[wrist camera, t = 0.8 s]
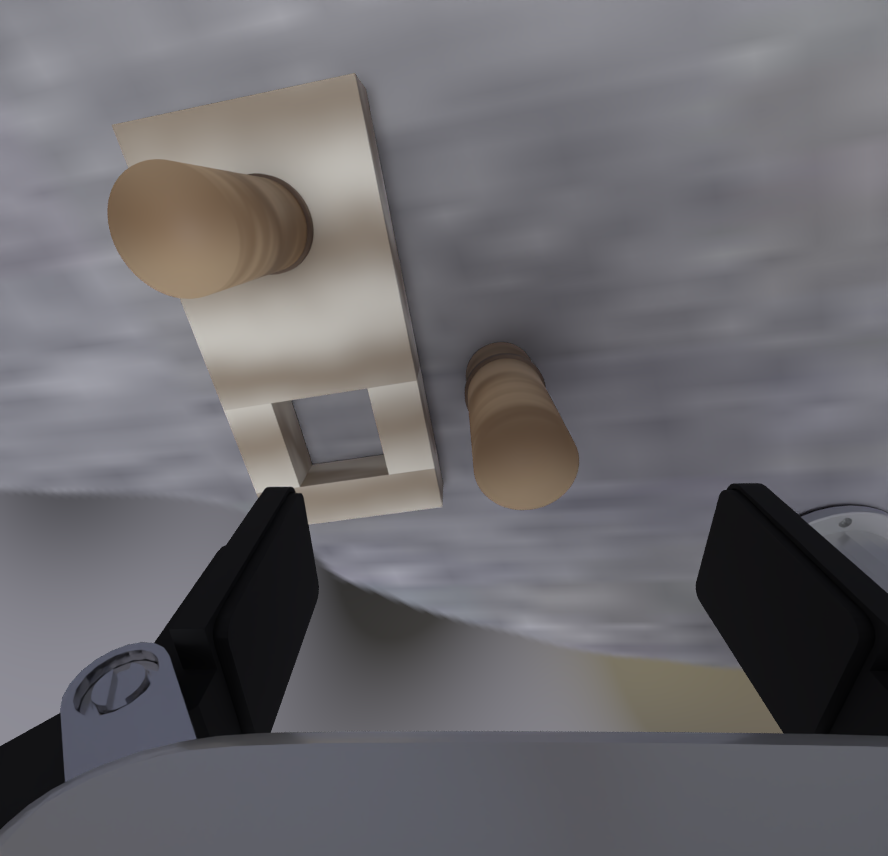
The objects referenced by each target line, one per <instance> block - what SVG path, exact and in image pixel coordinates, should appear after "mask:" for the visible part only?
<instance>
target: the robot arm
mask: <svg viewBox="0 0 888 856" xmlns="http://www.w3.org/2000/svg"><path fill="white" fill-rule="evenodd" d="M318 590H319V585H318V578H317V573H316V566H315V560H314V554H313V549H312V543H311V537H310V531H309V525H308V519H307V513H306V508H305V502H304V497H303V495H302V493H296V491H295V489H294V488H293V487H266V488H265V489H264V491H263V492H262V493H261V495H260V496H259V498H258V499H257V501H256V502H255V504H254V505H253V507H252V508H251V510H250V511H249V512H248V514H247V515H246V517H245V518H244V520H243V521H242V523H241V524H240V526H239V527H238V529H237V530H236V531H235V533H234V534H233V536H232V537H231V539H230V540H229V542H228V543H227V545H226V546H223V547H222V548H221V549H220V550H219V551H218V552H217V553H216V555H215V556H214V558H213V559H212V561H211V562H210V564H209V565H208V566H207V568H206V569H205V571H204V572H203V573H202V575H201V577H200V578H199V579H198V581H197V582H196V584H195V585H194V586H193V588H192V589H191V591H190V592H189V594H188V595H187V597H186V598H185V599H184V601H183V603H182V604H181V605H180V607H179V608H178V610H177V611H176V612H175V614H174V615H173V617H172V618H171V620H170V621H169V623H168V624H167V625H166V627H165V628H164V630H163V631H162V633H161V634H160V636H159V637H158V638H157V640H156V641H155V643H147V642H140V643H135V644H129V645H125V646H123V647H120V648H118V649H115V650H112V651H110V652H109V653H107V654H105V655H103V656H101V657H100V658H98V659H96V660H95V661H93V662H92V663H91V664H90V665H88V666H87V667H86V668H84V669H83V670H82V671H81V672H80V673H79V674H78V675H77V676H76V678H75V679H74V680H73V681H72V682H71V683H70V684H69V686H68V688H67V690H66V692H65V693H64V695H63V697H62V702H61V708H60V713H59V714H57V715H56V716H54V717H52V718H51V719H49V720H47V721H45V722H43V723H42V724H39V725H38V726H36V727H34V728H32V729H30V730H29V731H27V732H25V733H23V734H22V735H20V736H18V737H16V738H14V739H12V740H11V741H9V742H7V743H5V744H3V745H2V746H0V856H888V513H886V512H884V511H882V510H879V509H875V508H871V507H866V506H852V505H850V506H839V507H831V508H827V509H822V510H818V511H814V512H812V513H809V514H806V515H804V516H801V517H800V516H799V515H798V514H797V513H796V512H795V511H793V510H792V509H791V508H790V507H789V506H788V505H787V504H785V503H784V502H783V501H782V500H781V499H780V498H779V497H777V496H776V495H775V494H774V493H773V492H772V491H771V490H769V489H768V488H767V487H766V486H764V485H763V484H759V483H739V484H731V485H730V486H729V487H728V488H727V490H724V491H722V492H721V493H720V495H719V499H718V502H717V506H716V510H715V514H714V517H713V521H712V525H711V529H710V532H709V536H708V540H707V544H706V547H705V551H704V555H703V559H702V562H701V566H700V570H699V574H698V577H697V581H696V593H697V596H698V599H699V601H700V602H701V604H702V606H703V607H704V609H705V610H706V612H707V614H708V615H709V617H710V618H711V620H712V621H713V623H714V625H715V626H716V628H717V629H718V631H719V632H720V634H721V636H722V637H723V639H724V640H725V642H726V643H727V645H728V647H729V648H730V650H731V651H732V653H733V654H734V656H735V658H736V659H737V661H738V662H739V664H740V666H741V667H742V669H743V670H744V672H745V673H746V675H747V677H748V678H749V680H750V681H751V683H752V684H753V686H754V688H755V689H756V691H757V692H758V694H759V695H760V697H761V698H762V700H763V702H764V703H765V705H766V707H767V708H768V709H769V711H770V713H771V714H772V716H773V718H774V719H775V721H776V722H777V724H778V725H779V727H780V729H781V730H782V731H783V733H784V734H779V733H778V734H776V733H775V734H774V733H692V732H691V733H689V732H550V731H549V732H547V731H546V732H544V731H540V732H539V731H341V732H284V733H271V730H272V727H273V724H274V722H275V719H276V716H277V713H278V710H279V707H280V705H281V702H282V699H283V696H284V693H285V690H286V687H287V685H288V682H289V679H290V676H291V673H292V670H293V668H294V665H295V662H296V659H297V656H298V653H299V651H300V648H301V645H302V642H303V639H304V636H305V633H306V631H307V628H308V625H309V622H310V619H311V616H312V614H313V611H314V608H315V605H316V602H317V599H318V592H319V591H318Z"/></svg>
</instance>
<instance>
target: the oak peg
mask: <svg viewBox="0 0 888 856" xmlns="http://www.w3.org/2000/svg"><path fill="white" fill-rule="evenodd" d="M465 402H466V406H467V408H468V411H469V420H470V432H471V443H472V455H473V467H474V475H475V479H476V482H477V484H478V486H479V488H480V489H481V491H482V492H483V493H484V494H485V495H486V496H487V497H488V498H489V499H490V500H492V501H493V502H495V503H496V504H498V505H501V506H503V507H506V508H510V509H515V510H531V509H536V508H540V507H543V506H546V505H548V504H550V503H552V502H554V501H556V500H557V499H559V498H560V497H561V496H562V495H563V494H565V493H566V492H567V490H568V489H569V488H570V487H571V485H572V484H573V482H574V480H575V478H576V475H577V472H578V467H579V455H578V450H577V447H576V445H575V443H574V441H573V439H572V437H571V435H570V433H569V431H568V430H567V428H566V426H565V424H564V422H563V420H562V418H561V416H560V414H559V413H558V411H557V409H556V407H555V405H554V403H553V401H552V399H551V397H550V396H549V394H548V392H547V390H546V387H545V382H544V379H543V377H542V375H541V373H540V371H539V370H538V368H537V367H536V366H535V365H534V364H533V363H532V362H531V360H530V358H529V356H528V355H527V354H526V353H525V351H523V350H522V349H521V348H519V347H518V346H516V345H514V344H510V343H505V342H497V343H492V344H489V345H486V346H484V347H482V348H481V349H480V350H478V351H477V352H476V353H475V354H474V355H473V356H472V358H471V359H470V361H469V363H468V366H467V370H466V385H465Z"/></svg>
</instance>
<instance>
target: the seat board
mask: <svg viewBox="0 0 888 856" xmlns="http://www.w3.org/2000/svg"><path fill="white" fill-rule="evenodd" d="M112 127H113V130H114V132H115V135H116V137H117V140H118V142H119V145H120V148H121V150H122V153H123V155H124V158H125V160H126V163H127V165H128V169H127V170H125V171H124V172H123V173H122V174H121V175H120V176H119V178H118V179H117V181H116V182H115V184H114V186H113V188H112V190H111V193H110V197H109V201H108V224H109V229H110V233H111V236H112V239H113V242H114V245H115V247H116V249H117V251H118V253H119V254H120V256H121V257H122V259H123V261H124V262H125V263H126V265H127V266H128V267H129V269H130V270H131V271H132V272H133V273H134V274H135V275H136V276H137V277H138V278H140V279H141V280H142V281H143V282H144V283H146V284H147V285H149V286H150V287H152V288H153V289H155V290H157V291H159V292H161V293H164V294H166V295H169V296H173V297H177V298H180V300H181V303H182V305H183V308H184V310H185V313H186V315H187V318H188V320H189V323H190V325H191V328H192V331H193V333H194V336H195V338H196V341H197V343H198V346H199V348H200V351H201V353H202V356H203V358H204V361H205V364H206V366H207V369H208V371H209V374H210V376H211V379H212V381H213V384H214V386H215V389H216V391H217V394H218V397H219V399H220V402H221V404H222V407H223V409H224V412H225V414H226V417H227V419H228V422H229V425H230V427H231V430H232V432H233V435H234V437H235V440H236V442H237V445H238V447H239V450H240V452H241V455H242V458H243V460H244V463H245V465H246V468H247V470H248V473H249V475H250V478H251V480H252V483H253V486H254V488H255V491H256V493H257V496H258V498H259V496H260V495H261V493H262V492H263V491H264V489H265V488H266V487H293V488H294V489H295V491H296V493H302V495H303V497H304V502H305V508H306V513H307V519H308V525H310V524H317V523H325V522H332V521H340V520H348V519H355V518H363V517H370V516H378V515H385V514H393V513H401V512H408V511H416V510H423V509H431V508H439V507H442V503H443V480H442V475H441V470H440V465H439V460H438V455H437V450H436V444H435V439H434V434H433V429H432V424H431V419H430V414H429V409H428V404H427V399H426V393H425V388H424V383H423V378H422V373H421V368H420V363H419V358H418V353H417V348H416V342H415V337H414V332H413V327H412V322H411V317H410V312H409V307H408V302H407V297H406V291H405V286H404V281H403V276H402V271H401V266H400V261H399V256H398V251H397V246H396V241H395V235H394V230H393V225H392V220H391V215H390V210H389V205H388V200H387V195H386V190H385V184H384V179H383V174H382V169H381V164H380V159H379V154H378V149H377V144H376V139H375V133H374V128H373V123H372V118H371V113H370V108H369V103H368V98H367V93H366V88H365V87H364V86H363V84H362V83H361V81H360V80H359V78H358V77H357V76H356V74H355V73H353V74H348V75H344V76H339V77H334V78H330V79H325V80H320V81H316V82H311V83H306V84H302V85H297V86H292V87H287V88H283V89H278V90H273V91H269V92H264V93H259V94H255V95H250V96H245V97H241V98H236V99H231V100H227V101H222V102H217V103H213V104H208V105H203V106H198V107H194V108H189V109H184V110H180V111H175V112H170V113H166V114H161V115H156V116H152V117H147V118H142V119H138V120H133V121H128V122H124V123H119V124H114V125H112ZM366 388H367V389H368V393H369V397H370V401H371V405H372V409H373V413H374V417H375V421H376V425H377V429H378V433H379V437H380V441H381V445H382V449H383V453H384V455H377V456H370V457H363V458H356V459H349V460H342V461H335V462H328V463H321V464H314V465H312V462H311V459H310V456H309V453H308V450H307V447H306V444H305V441H304V438H303V435H302V432H301V429H300V425H299V422H298V419H297V416H296V413H295V410H294V407H293V404H292V401H291V400H296V399H302V398H308V397H315V396H321V395H328V394H334V393H341V392H347V391H354V390H360V389H366Z"/></svg>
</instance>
